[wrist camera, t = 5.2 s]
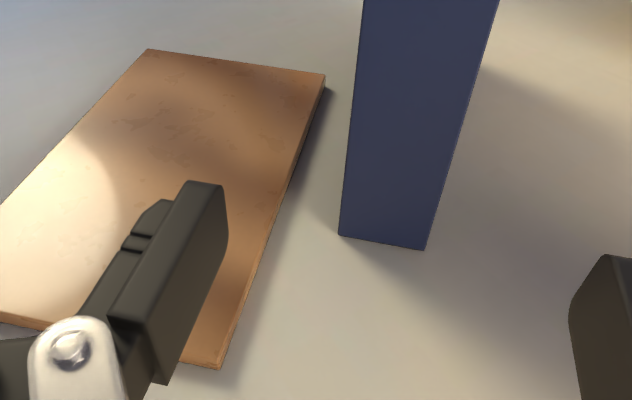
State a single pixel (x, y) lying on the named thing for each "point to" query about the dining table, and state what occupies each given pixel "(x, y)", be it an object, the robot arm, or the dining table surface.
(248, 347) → the dining table surface
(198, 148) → the cork mat
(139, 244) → the robot arm
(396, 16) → the book
